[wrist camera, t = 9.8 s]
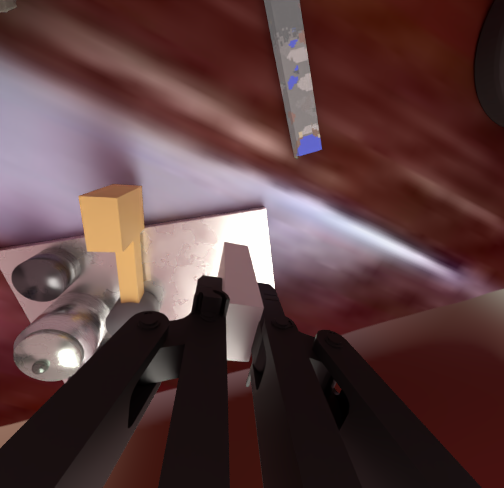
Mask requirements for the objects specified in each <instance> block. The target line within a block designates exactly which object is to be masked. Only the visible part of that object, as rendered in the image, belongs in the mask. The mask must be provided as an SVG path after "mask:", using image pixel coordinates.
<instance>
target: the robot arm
mask: <svg viewBox="0 0 504 488" xmlns="http://www.w3.org/2000/svg"><path fill="white" fill-rule="evenodd" d="M475 85H476V91H477V95H478V98H479V101H480V103H481V106H482V108H483V109H484V111H485V112H486V114H487V115H488V116H489V117H490V118H491V119H492V120H493V121H494V122H495V123H497V124H498V125H500V126H502V127H504V0H495V1H494V3H493V5H492V7H491V9H490V11H489V13H488V16H487V18H486V20H485V23H484V26H483V28H482V32H481V35H480V38H479V42H478V47H477V52H476V59H475ZM251 352H252V359H253V361H252V365H251V368H250V372H249V375H248V379H247V383H246V387H248V386H249V384H250V381H251V385H252V392H253V402H254V410H255V418H256V427H257V436H258V444H259V453H260V461H261V469H262V478H263V487H264V488H481V487H480V485H479V484H478V483H477V482H476V481H475V480H474V479H473V478H472V477H471V476H470V475H469V473H468V472H467V471H466V470H465V469H464V468H463V467H462V466H461V465H460V464H459V462H458V461H457V460H456V459H455V458H454V457H453V456H452V455H451V454H450V453H449V452H448V451H447V449H445V447H444V446H443V445H442V444H441V443H440V442H439V441H438V440H437V439H436V437H435V436H434V435H433V434H432V433H431V432H430V431H429V430H428V429H427V428H426V426H425V425H423V423H422V422H421V421H420V420H419V419H418V418H417V417H416V416H415V414H414V413H413V412H412V411H411V410H410V409H409V408H408V407H407V406H406V405H405V404H404V402H403V401H402V400H401V399H400V398H399V397H398V396H397V395H396V394H395V393H394V392H393V391H392V389H391V388H390V387H389V386H388V385H387V384H386V383H385V382H384V381H383V380H382V379H381V377H380V376H379V375H378V374H377V373H376V372H375V371H374V370H373V369H372V368H371V367H370V365H369V364H368V363H367V362H366V361H365V360H364V359H363V358H362V357H361V356H360V355H359V353H358V352H357V351H356V350H355V349H354V348H353V347H352V346H351V345H350V344H349V343H348V341H347V340H346V339H344V338H343V337H342V336H341V335H339V334H337V333H336V332H333V331H330V330H321V331H319V332H318V333H317V334H316V337H312V336H309V335H306V334H304V333H301V332H299V331H298V329H297V327H296V325H295V323H294V322H293V321H292V320H291V319H289V318H288V317H286V316H285V315H284V312H283V309H282V307H281V304H280V302H279V298H278V297H277V293H276V290H275V289H274V288H273V287H272V286H271V285H270V284H266V283H259V282H257V279H256V275H255V271H254V267H253V263H252V259H251V256H250V252H249V248H248V246H247V245H241V244H235V243H229V242H224V246H223V251H222V256H221V261H220V267H219V272H218V277H213V276H206V275H202V276H201V277H200V278H199V279H198V281H197V286H196V292H195V294H194V299H193V305H192V311H191V313H190V314H189V315H187V316H186V317H184V318H181V319H178V320H171V321H169V319H168V317H167V316H166V315H165V314H163V313H160V312H158V311H143V312H139V313H136V314H135V315H133V316H132V317H131V318H130V319H129V320H128V321H127V322H126V323H125V324H124V325H123V326H122V327H121V328H120V329H119V330H118V331H117V332H116V333H115V334H114V335H113V336H112V337H111V338H110V339H109V340H108V341H107V342H106V343H105V344H104V345H103V346H102V347H101V348H100V349H99V350H98V351H97V352H96V353H95V354H94V355H93V356H92V357H91V358H90V359H89V360H88V361H87V362H86V363H85V364H84V365H83V366H82V367H81V368H80V369H79V370H78V371H77V372H76V373H75V374H74V375H73V376H72V377H71V378H70V379H69V380H68V381H67V382H66V383H65V384H64V385H63V386H62V387H61V388H60V389H59V390H58V391H57V392H56V393H55V394H54V395H53V396H52V397H51V398H50V399H49V400H48V401H47V402H46V403H45V404H44V405H43V406H42V407H41V408H40V409H39V410H38V411H37V412H36V413H35V414H34V415H33V416H32V417H31V418H30V419H29V420H28V421H27V422H26V423H25V424H24V425H23V426H22V427H21V428H20V429H19V430H18V431H17V432H16V433H15V434H14V435H13V436H12V437H11V438H10V439H9V440H8V441H7V442H6V443H5V444H4V445H3V446H2V447H1V448H0V488H103V486H104V484H105V483H106V481H107V479H108V477H109V476H110V474H111V472H112V470H113V468H114V467H115V465H116V463H117V461H118V459H119V458H120V456H121V454H122V452H123V450H124V449H125V447H126V445H127V443H128V441H129V440H130V438H131V436H132V434H133V433H134V431H135V429H136V427H137V425H138V424H139V422H140V420H141V418H142V417H143V415H144V413H145V411H146V409H147V408H148V406H149V404H150V402H151V400H152V399H153V397H154V395H155V393H156V392H157V390H158V388H159V386H160V384H161V381H165V380H170V379H174V378H179V380H178V385H177V390H176V396H175V401H174V406H173V412H172V417H171V422H170V428H169V433H168V438H167V444H166V449H165V454H164V459H163V465H162V470H161V475H160V481H159V486H158V488H230V479H229V435H228V390H227V389H228V388H227V360H233V361H244V362H249V359H250V355H251ZM336 382H337V383H338V385H339V386H340V388H341V389H342V390H341V392H340V393H338V392H337V391H336V390H335V388H334V386H335V384H336Z"/></svg>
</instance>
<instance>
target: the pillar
mask: <svg viewBox="0 0 504 488" xmlns="http://www.w3.org/2000/svg"><path fill="white" fill-rule="evenodd" d="M264 3H265V8H266V13H267V19H268V24H269V29H270V34H271V39H272V44H273V50H274V55H275V60H276V65H277V70H278V75H279V80H280V86H281V91H282V96H283V101H284V106H285V111H286V117H287V122H288V127H289V132H290V137H291V142H292V148H293V153H294V157H295V158H296V159H297V158H298V156H302V155H305V154H308V153H312V152H315V151H318V150H321V149H322V147H321V140H320V134H319V127H318V121H317V114H316V107H315V101H314V94H313V87H312V81H311V74H310V68H309V61H308V54H307V48H306V41H305V35H304V28H303V21H302V15H301V8H300V2H299V0H264Z"/></svg>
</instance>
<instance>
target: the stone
mask: <svg viewBox="0 0 504 488" xmlns="http://www.w3.org/2000/svg"><path fill="white" fill-rule="evenodd" d="M16 7H17V5H16V0H0V12H8V11H10V10H12V9H14V8H16Z"/></svg>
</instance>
